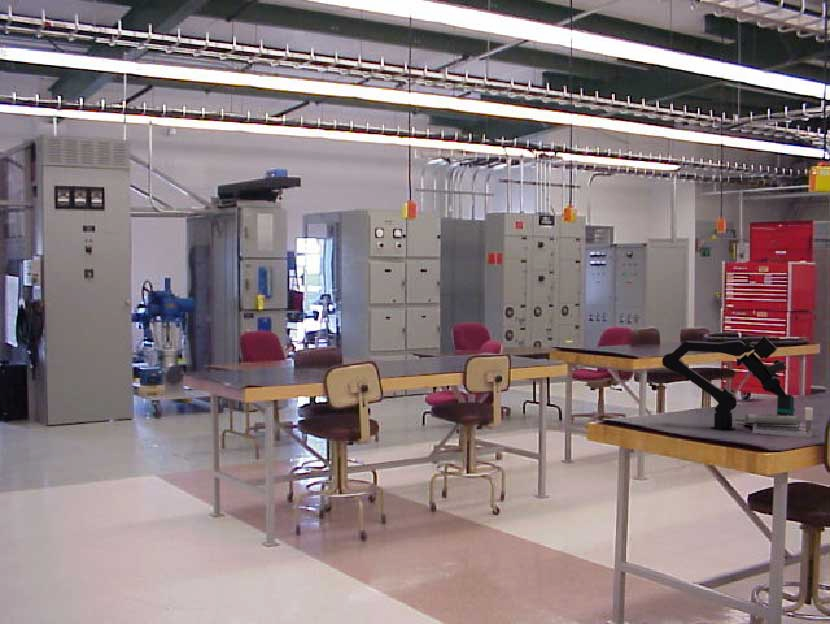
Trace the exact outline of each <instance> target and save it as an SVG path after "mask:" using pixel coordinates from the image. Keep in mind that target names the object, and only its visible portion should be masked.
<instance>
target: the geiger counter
mask: <svg viewBox="0 0 830 624" xmlns="http://www.w3.org/2000/svg"><path fill="white" fill-rule="evenodd" d="M754 423H757V425H761V426H797V428H801V423H802V417H801V416H800V415H794V416H779V414H778V416H777V415H774V414H773V415H772V412H770V414H769V413H767V414H766V415H765V414H760V415H759V414H745V415H744V416H743V417H737V418H732V424H738V425H744V426H752V427H753V424H754Z"/></svg>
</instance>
